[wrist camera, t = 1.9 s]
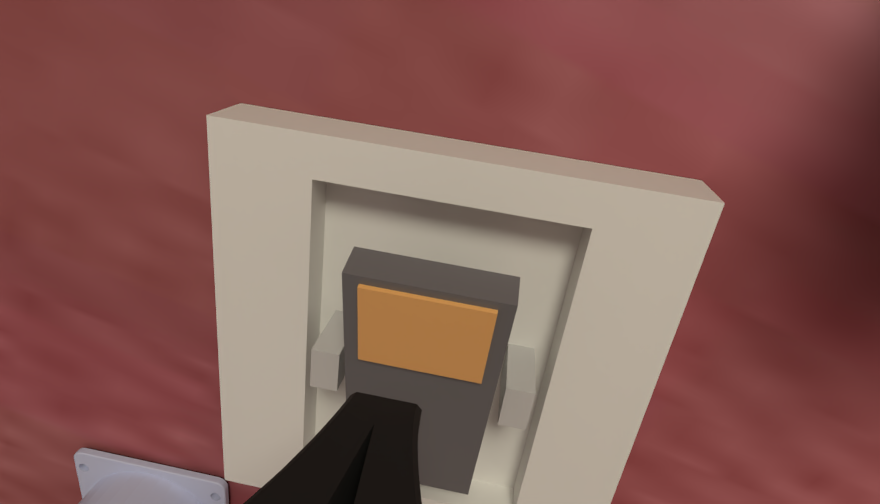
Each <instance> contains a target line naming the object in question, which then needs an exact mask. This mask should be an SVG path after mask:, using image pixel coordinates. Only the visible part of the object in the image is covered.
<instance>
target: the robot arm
mask: <svg viewBox="0 0 880 504" xmlns="http://www.w3.org/2000/svg"><path fill="white" fill-rule="evenodd" d="M421 413H422V410H421V408H420V407H419V406H418V405H417V404H414V403H410V402H405V401H400V400H395V399H390V398H385V397H380V396H375V395H370V394H365V393H360V392H355V393H353V394H352V395H350V396H349V398H348V399H347V400H346V401H345V403H344V404H343V405H342V406H341V407H340V409H339V410H338V411H337V412H336V413H335V414H334V416H333V417H332V418H331V419H330V420H329V421H328V422H327V424H326V425H325V426H324V427H323V428H322V429H321V430H320V431H319V432H318V433H317V434H316V435H315V436H314V438H313V439H312V440H311V441H310V442H309V443H308V444H307V445H306V446H305V447H304V448H303V449H302V450H301V451H300V452H299V453H298V454H297V455H296V456H295V457H294V458H293V459H292V460H291V461H290V462H289V463H288V464H287V465H286V466H285V467H284V468H283V469H281V470H280V471H279V472H278V473H277V474H276V475H275V476H274V477H273V478H272V479H271V480H269V481H268V482H267V483H266V484H265V485H264V486H263V487H262V488H261V489H259V490H258V491H257V492H256V493H255V494H254V495H253V496H252V497H251V498H249V499H248V500H247V501H246V502H245V503H244V504H422V501H421V491H420V481H419V468H418V432H419V426H420V419H421ZM74 460H75V465H76V470H77V475H78V479H79V484H80V489H81V494H82V500H81V501H80V502H79V503H78V504H229V493H228V484H227V482H226V481H225V480H224V479H222V478H220V477H216V476H212V475H207V474H203V473H198V472H194V471H189V470H185V469H180V468H176V467H171V466H166V465H162V464H157V463H153V462H148V461H144V460H139V459H135V458H130V457H126V456H121V455H116V454H112V453H107V452H103V451H98V450H94V449H89V448H81V449H79V450H78V451H77V452H76V453H75V454H74Z"/></svg>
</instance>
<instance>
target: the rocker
mask: <svg viewBox="0 0 880 504" xmlns="http://www.w3.org/2000/svg"><path fill="white" fill-rule="evenodd" d="M519 287H520V277H517V276H512V275H506V274H501V273H495V272H490V271H485V270H479V269H474V268H468V267H463V266H458V265H452V264H447V263H441V262H436V261H430V260H425V259H420V258H414V257H409V256H403V255H398V254H393V253H387V252H382V251H376V250H371V249H365V248H360V247H355V246H354V248H353V250H352V252H351V254H350V256H349V258H348V260H347V262H346V265H345V267H344V269H343V271H342V298H343V327H344V357H345V386H346V400H347V399H348V398H349V396H350V395H352V394H353V393H355V392H360V393H365V394H370V395H375V396H380V397H385V398H390V399H395V400H400V401H405V402H410V403H414V404H417V405H418V406H419V407H420V408H421V410H422V413H421V419H420V426H419V432H418V468H419V481H420V485H425V486H430V487H434V488H439V489H444V490H448V491H453V492H458V493H462V494H467V495H468V493H469V489H470V485H471V481H472V478H473V474H474V470H475V466H476V462H477V459H478V455H479V451H480V447H481V443H482V440H483V436H484V432H485V428H486V425H487V421H488V417H489V413H490V409H491V406H492V402H493V398H494V394H495V390H496V387H497V383H498V379H499V375H500V372H501V368H502V364H503V360H504V356H505V353H506V349H507V345H508V341H509V337H510V334H511V330H512V326H513V322H514V319H515V315H516V311H517V307H518V298H519Z"/></svg>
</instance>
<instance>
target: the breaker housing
mask: <svg viewBox="0 0 880 504" xmlns="http://www.w3.org/2000/svg"><path fill="white" fill-rule="evenodd" d="M207 135H208V155H209V175H210V195H211V215H212V235H213V255H214V275H215V296H216V316H217V336H218V356H219V376H220V396H221V416H222V436H223V456H224V476H225V480H228V481H233V482H237V483H242V484H246V485H251V486H255V487H260V488H262V487H263V486H264V485H265V484H266V483H267V482H268V481H269V480H271V479H272V478H273V477H274V476H275V475H276V474H277V473H278V472H279V471H280V470H281V469H283V468H284V467H285V466H286V465H287V464H288V463H289V462H290V461H291V460H292V459H293V458H294V457H295V456H296V455H297V454H298V453H299V452H300V451H301V450H302V449H303V448H304V447H305V446H306V445H307V444H308V443H309V442H310V441H311V440H312V439H313V438H314V436H315V435H316V434H317V433H318V432H319V431H320V430H321V429H322V428H323V427H324V426H325V425H326V424H327V422H328V421H329V420H330V419H331V418H332V417H333V416H334V414H335V413H336V412H337V411H338V410H339V409H340V407H341V406H342V405H343V404H344V403H345V401H346V386H345V357H344V327H343V298H342V271H343V269H344V267H345V265H346V262H347V260H348V258H349V256H350V254H351V252H352V250H353V248H354V246H355V247H360V248H365V249H371V250H376V251H382V252H387V253H393V254H398V255H403V256H409V257H414V258H420V259H425V260H430V261H436V262H441V263H447V264H452V265H458V266H463V267H468V268H474V269H479V270H485V271H490V272H495V273H501V274H506V275H512V276H517V277H520V287H519V298H518V307H517V311H516V315H515V319H514V322H513V326H512V330H511V334H510V337H509V341H508V345H507V349H506V353H505V356H504V360H503V364H502V368H501V372H500V375H499V379H498V383H497V387H496V390H495V394H494V398H493V402H492V406H491V409H490V413H489V417H488V421H487V425H486V428H485V432H484V436H483V440H482V443H481V447H480V451H479V455H478V459H477V462H476V466H475V470H474V474H473V478H472V481H471V485H470V489H469V493H468V495H467V494H462V493H458V492H453V491H448V490H444V489H439V488H434V487H430V486H425V485H420V491H421V501H422V504H610V503H611V501H612V498H613V495H614V493H615V490H616V488H617V485H618V482H619V480H620V477H621V474H622V472H623V469H624V467H625V464H626V461H627V459H628V456H629V453H630V451H631V448H632V446H633V443H634V440H635V438H636V435H637V432H638V430H639V427H640V425H641V422H642V419H643V417H644V414H645V411H646V409H647V406H648V404H649V401H650V398H651V396H652V393H653V390H654V388H655V385H656V383H657V380H658V377H659V375H660V372H661V369H662V367H663V364H664V361H665V359H666V356H667V354H668V351H669V348H670V346H671V343H672V340H673V338H674V335H675V333H676V330H677V327H678V325H679V322H680V319H681V317H682V314H683V312H684V309H685V306H686V304H687V301H688V298H689V296H690V293H691V291H692V288H693V285H694V283H695V280H696V277H697V275H698V272H699V270H700V267H701V264H702V262H703V259H704V256H705V254H706V251H707V248H708V246H709V243H710V241H711V238H712V235H713V233H714V230H715V227H716V225H717V222H718V220H719V217H720V214H721V212H722V209H723V206H724V204H725V203H724V202H723V201H722V200H721V199H720V198H719V197H718V196H717V195H716V194H715V193H714V192H713V191H712V190H711V189H710V188H709V187H708V186H707V185H706V184H705V183H704V182H703V181H702V180H696V179H690V178H684V177H678V176H672V175H666V174H660V173H654V172H648V171H642V170H636V169H630V168H624V167H618V166H612V165H606V164H601V163H595V162H589V161H583V160H577V159H571V158H565V157H559V156H553V155H547V154H541V153H535V152H529V151H523V150H517V149H511V148H505V147H499V146H493V145H487V144H481V143H475V142H469V141H463V140H457V139H451V138H445V137H439V136H433V135H427V134H422V133H416V132H410V131H404V130H398V129H392V128H386V127H380V126H374V125H368V124H362V123H356V122H350V121H344V120H338V119H332V118H326V117H320V116H314V115H308V114H302V113H296V112H290V111H284V110H278V109H272V108H266V107H260V106H254V105H248V104H243V103H240V104H237V105H234V106H231V107H229V108H226V109H223V110H220V111H217V112H214V113H211V114H208V115H207Z"/></svg>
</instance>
